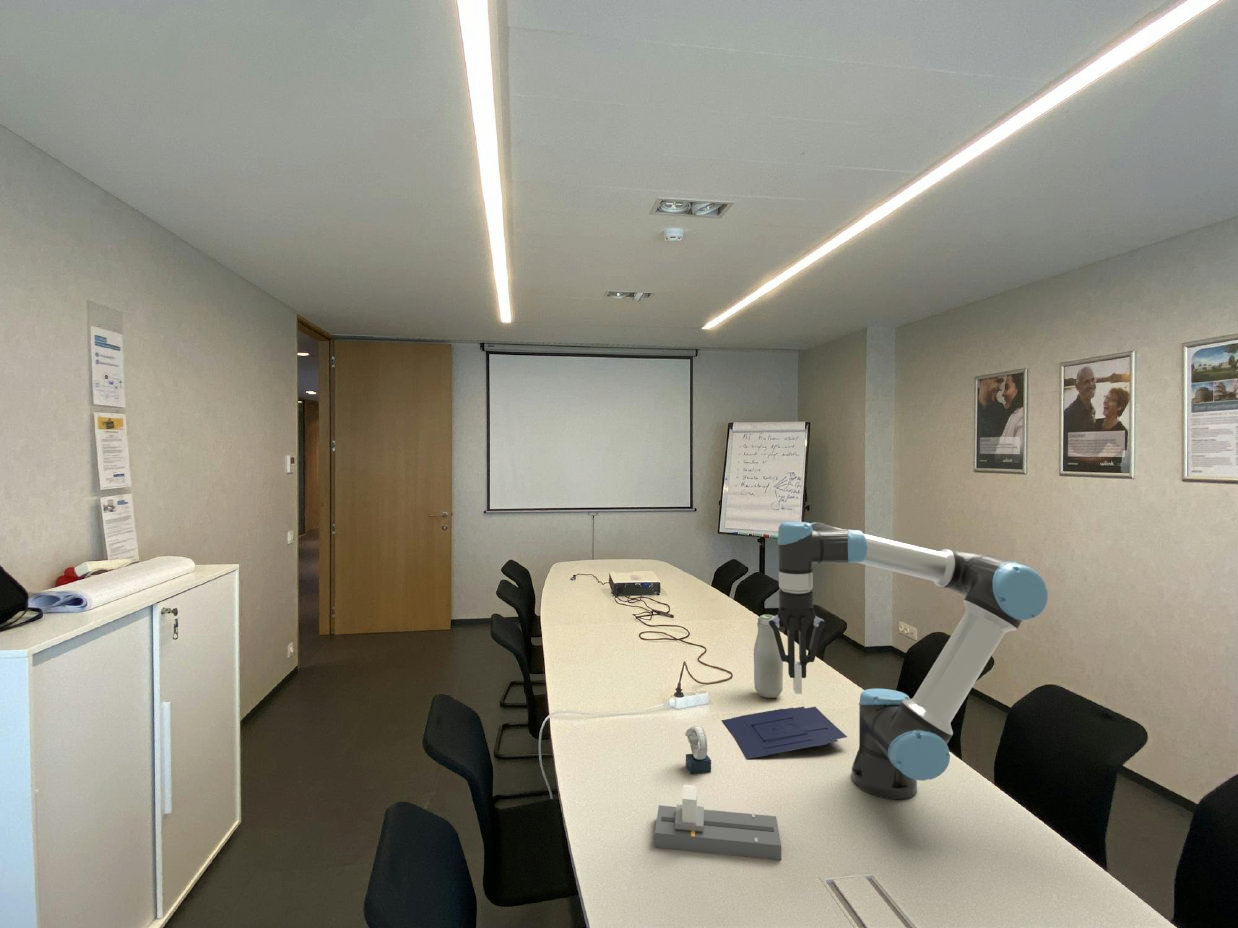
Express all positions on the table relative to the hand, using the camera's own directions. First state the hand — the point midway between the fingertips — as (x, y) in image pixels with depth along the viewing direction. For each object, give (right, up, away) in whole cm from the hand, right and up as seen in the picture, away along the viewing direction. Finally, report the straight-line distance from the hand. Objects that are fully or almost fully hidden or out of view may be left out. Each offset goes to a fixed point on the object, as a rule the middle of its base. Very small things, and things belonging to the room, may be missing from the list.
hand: (797, 691), depth 138 cm
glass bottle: (+10, -28, +67) cm, 73 cm away
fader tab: (-26, -25, -8) cm, 37 cm away
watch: (-20, -28, +20) cm, 40 cm away
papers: (+7, -28, +38) cm, 48 cm away
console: (-20, -29, -9) cm, 36 cm away
